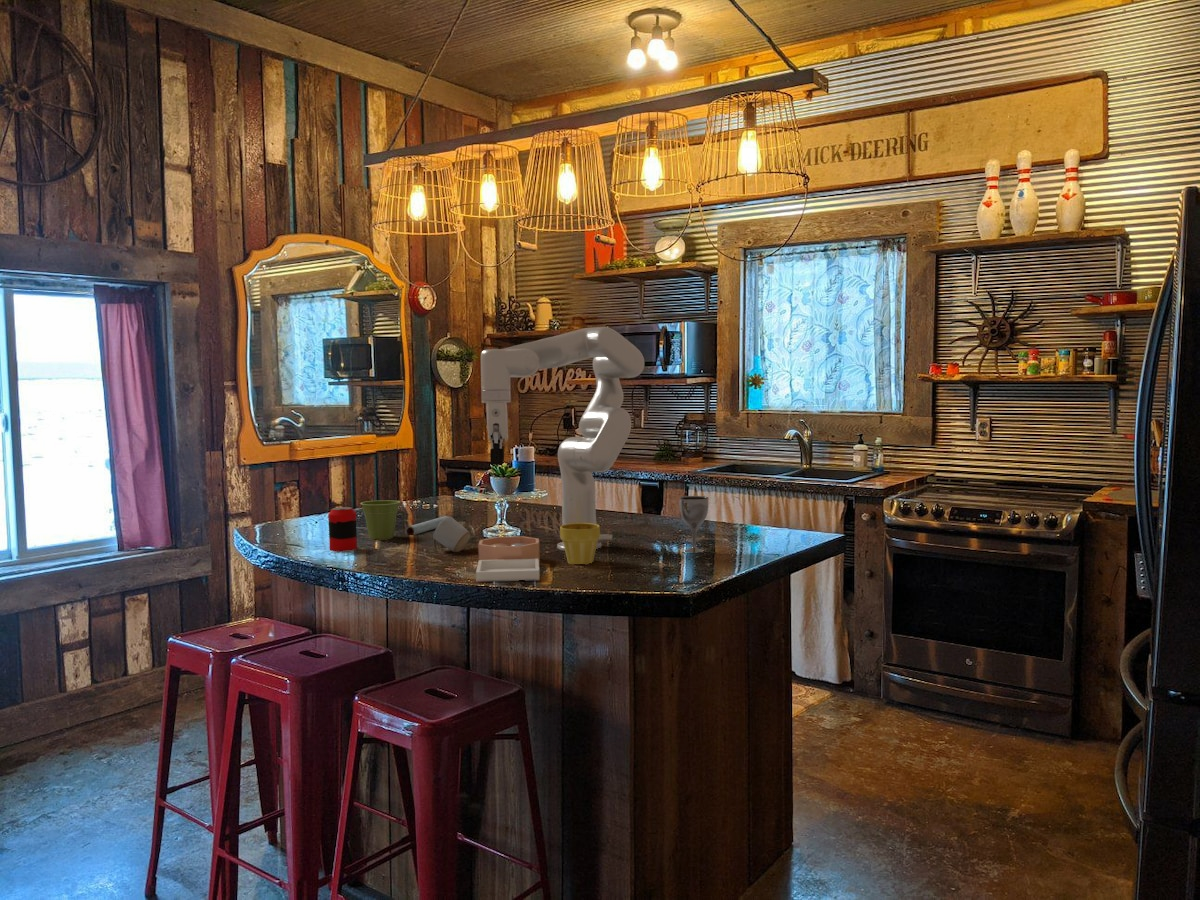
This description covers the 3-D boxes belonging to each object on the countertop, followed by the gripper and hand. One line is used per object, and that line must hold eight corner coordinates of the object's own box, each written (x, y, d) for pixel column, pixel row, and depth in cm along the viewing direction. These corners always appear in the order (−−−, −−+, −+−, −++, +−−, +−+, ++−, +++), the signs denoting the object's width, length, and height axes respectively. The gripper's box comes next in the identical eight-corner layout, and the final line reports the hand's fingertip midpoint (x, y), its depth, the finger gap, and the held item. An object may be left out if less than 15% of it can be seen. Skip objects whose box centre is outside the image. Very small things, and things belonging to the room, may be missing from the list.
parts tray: (538, 568, 239) (538, 558, 239) (539, 580, 224) (539, 570, 224) (479, 569, 238) (478, 560, 238) (476, 582, 223) (475, 572, 223)
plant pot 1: (409, 537, 288) (408, 501, 288) (381, 543, 278) (380, 505, 278) (381, 534, 295) (380, 498, 294) (353, 540, 285) (351, 503, 284)
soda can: (331, 553, 263) (329, 511, 262) (328, 549, 270) (326, 507, 269) (358, 551, 266) (357, 509, 265) (355, 547, 273) (353, 506, 272)
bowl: (538, 555, 256) (538, 535, 255) (539, 567, 240) (539, 545, 240) (480, 557, 255) (480, 537, 254) (478, 569, 239) (477, 547, 239)
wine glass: (712, 550, 261) (712, 496, 260) (703, 555, 254) (703, 500, 252) (685, 548, 264) (685, 495, 263) (675, 553, 257) (675, 498, 256)
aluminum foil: (414, 537, 291) (414, 526, 291) (396, 536, 293) (395, 525, 293) (450, 526, 312) (450, 516, 312) (433, 525, 315) (432, 515, 314)
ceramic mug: (453, 559, 261) (459, 540, 257) (430, 542, 263) (436, 523, 258) (474, 540, 269) (481, 521, 265) (452, 524, 271) (458, 505, 267)
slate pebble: (527, 557, 250) (527, 542, 250) (527, 561, 246) (527, 545, 245) (511, 558, 250) (510, 543, 249) (510, 561, 245) (510, 546, 245)
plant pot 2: (586, 568, 238) (585, 530, 238) (552, 564, 244) (552, 527, 243) (607, 561, 247) (607, 524, 246) (574, 557, 253) (574, 521, 252)
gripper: (510, 397, 236) (511, 465, 237) (511, 396, 253) (512, 459, 254) (479, 397, 235) (481, 466, 236) (482, 396, 252) (484, 460, 254)
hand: (497, 462), depth 245 cm, fingers open, 9 cm apart
